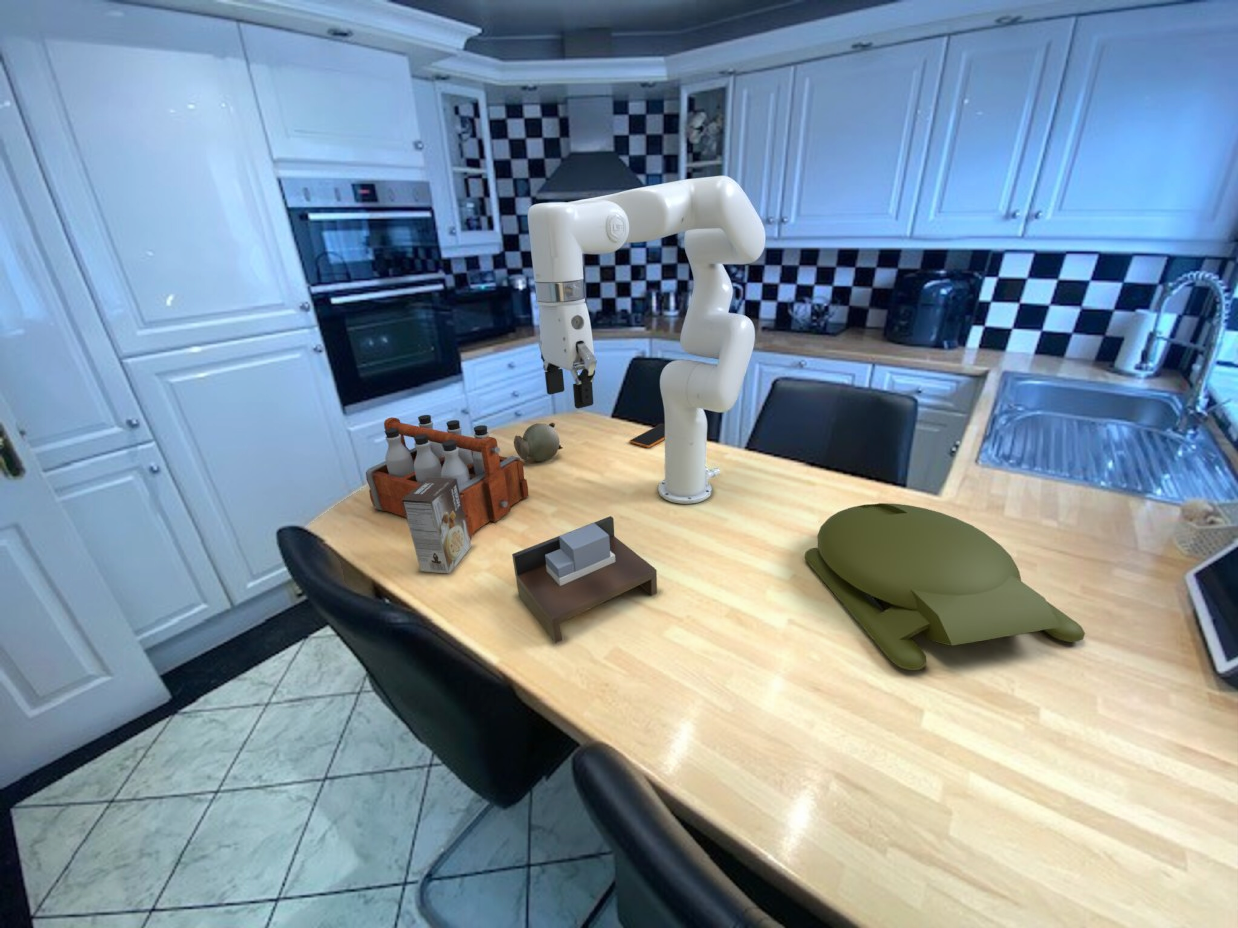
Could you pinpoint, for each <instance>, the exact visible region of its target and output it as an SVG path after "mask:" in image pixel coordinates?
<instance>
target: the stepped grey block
mask: <svg viewBox="0 0 1238 928" xmlns="http://www.w3.org/2000/svg"><path fill="white" fill-rule="evenodd" d="M589 524H590V525H589ZM589 524H586V525H587V526H586V525H584V527H583V526H581V527H582V528H581V527H578V528H579V529H578V528H576V529H577V530H576V529H573V530H574V531H573V530H571V531H568V532H569V533H568V532H565V533H566V534H565V533H562V534H560V535H561V536H560V535H558V536H559V541H560V549H559V550H556V551H554V552H551V553H549V554H546V555H545V559H546V568H547V572H548V573H549V574H550V575H551V576H552V577H553V579H554V580H555V581H556V582H557V583H558V584H559V585H560V586H561V585H564V584H566V583H568V582H571V581H573V580H575V579H577V578H580V577H582V576H584V575H587V574H589V573H591V572H593V571H596V570H598V569H600V568H603V567H605V566H607V565H609V564H612V563H614V562H615V555H614V554H613V553H612V552H611V551H610V542H609V535H608V534H607V533H606V532H604V531H603V530H602V529H601V528H600V527H598V526H597V525H596V524H595V523H594V522H592V524H591V523H589Z"/></svg>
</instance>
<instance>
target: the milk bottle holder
mask: <svg viewBox="0 0 1238 928" xmlns="http://www.w3.org/2000/svg"><path fill="white" fill-rule="evenodd" d="M417 419H418V425H414V424H408V423H403V422H401V420H400V419H399V418H397V417H393V416H391V417H388V418H386V419H385V420H384V422H383V427H384V434H385V441H386V442H387V445H388V446H387V450H386V453H385V459H384V460H385V461H383V462H380V463H378V464H376V465H373V466H372V467H369V468H368V469H367V470H366V471H365V478H366V479H365V480H366V482H367V484H368V487H369V489H368V494H369V498H370V501H371V504H372V505H373V507H374V508H375V509H376V510H379V511H382V512H385V511H386V512H389V513H392V514H395V515H398V516H401V517H404V518H407V517H406V514H405V510H404V506H403V503H402V499H403V498H404V497H405V496H406V495H408V494H409V493H410V492H411V491H412V490H414V489H415V488H416V487H417V486H418V485H419V484H421V483H422V482H423V481H424V480H425V479H426V478H428V477H430V478H456V479H457V483H458V487H459V492H460V497H461V501H462V506H463V511H464V515H465V520H466V525H467V530H468V534H469V538H471V537H472V536H474V535H475V532H477V530H479V529H480V528H482V527H483V526H485V525H486V524H487V523H489V522H490V521H492V522H497V521H499V520H500V519H502V518H503V517H505V516H506V515H507V514H509V513H510V512H511V506H513V505H514V504H516V503H518V502H519V501H520V500H522V499H526V498H528V497H529V485H528V481H527V479H526V478H525V472H524V471H525V469H524V463H523V460H522V459H521V458H520V457H519V456H516V455H515V456H514V455H511V456H509V457H506V456H502V455H500V452H501V448H500V447H499V446H498V440H497V439H496V438H495V437H493V436H490V433H489V431H488V426H487V425H485V424H484V425H483V424H482V425H481V424H480V425H476V426H474V427H473V431H474V435H473V437H472V436H469V435H468V436H467V435H463V434H462V426H461V425H460V420H458V419H453V420H448V421H447V422H446V426H447V428H446V431H443V430H438V429H434V422H433V420H432V415H430V414H423V415H419V416H418V417H417ZM405 437H408V438H413V440H414V447H413V448H411V449H409V448H408V447H407V443H406V439H405Z"/></svg>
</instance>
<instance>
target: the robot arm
mask: <svg viewBox="0 0 1238 928" xmlns="http://www.w3.org/2000/svg"><path fill="white" fill-rule="evenodd" d="M527 225H528V226H527V227H528V236H529V245H530V254H531V262H532V273H533V281H534V283H533V284H534V291H535V301H536V305H537V306H538V320H539V321H538V324H539V327H538V328H539V341H538V347H539V351H540V359H541V360H542V362H543V363H542V369H543V371H544V377H545V386H546V387H545V389H546V393H547V394H548V395H555V394H559V393H563V392H564V391H565V381H564V379H565V378H564V370H566V371H570V374H571V376H572V378H573V381H574V383H572V390H573V391H572V392H573V402H574V408H576V409H577V410H578V409H583V408H587V407H591V406H593V405H594V391H593V389H594V388H593V382H594V379H595V377H594V376H595V375H596V366H597V362H598V360H597V358H596V356H595V349H594V339H593V331H592V325H591V324H592V323H591V319H590V315H589V310H588V306H587V303H586V291H585V279H584V264H583V255H608V254H611V253H614V252H616V251H618V250H619V249H621V247H623V245H624V244H625V243H628V244H629V243H644V242H651V241H656V240H659V239H660V240H661V239H663V238H665V237H669V236H673V235H677V234H680V233H684V232H685V233H684V238H683V246H684V250H685V254H686V257H687V260H688V262H689V265H690V270H691V273H692V277H693V278H692V279H693V287H692V288H693V289H692V293H691V297H690V300H689V304H688V307H687V312H686V314H685V318H684V320H683V324H682V326H681V327H682V328H681V332H680V336H679V341H680V342H679V345H680V347H681V349H682V350H683V351H684V352H685V353H687V354H689V355H692V356H696V357H701V358H709V359H714V360H717V363H716V364H714V363H707V362H703V361H696V360H690V359H675V360H672V361H670V362H668V363H667V364H666V365H665V366H664V367H663V368H662V371H661V373H660V377H659V389H660V395H661V399H662V404H663V405H662V406H663V414H664V424H665V439H664V480H662V481H661V482H660V483H659V484H658V494H659V496H660V497H661V498H663V499H664V500H666V501H667V502H671V503H675V504H682V505H690V504H696V503H701V502H704V501H705V500H707V499H708V498H709V497H710V496H711V495H712V490H713V489H712V485H711V484H710V482H709V481H710V480H712V478H715V477H718V476H720V473H721V471H720V469H719V468H717V467H715V468H713V469H710V470H709V468H708V466H707V439H708V419H707V415H706V412H705V410H706V411H710V412H715V413H726V412H729V411H730V410H731V409H732V408H733V407H734V406H735V405H736V403H737V401H738V399H739V397H740V393H741V390H742V387H743V384H744V380H745V377H746V374H747V371H748V367H749V364H750V361H751V358H752V355H753V351H754V347H755V342H756V329H755V325H754V323H753V320H751V318H749V317H748V316H746V315H744V314H741V313H735V312H729V311H730V307H731V304H732V299H733V294H734V288H733V285H732V281H731V278H730V276H729V274H728V272H727V270H726V269H725V268H726V267H725V266H724V265H748V264H752V263H754V262H756V261H757V260H758V259H759V258H760V257H761V256H762V254H763V253H764V250H765V247H766V237H767V236H766V230H765V226H764V224H763V221H762V219H761V217H760V215H759V214H758V212H757V211H756V209H755V207H754V206H753V204H752V201H751V200H750V198H749V197H748V195H747V194H746V193H745V191H744V190H743V188H742V187H741V186H740V185H739V183H738V182H737V181H736V180H734V179H733V178H732V177H730V176H728V175H715V176H706V177H697V178H695V177H694V178H686V179H680V180H675V181H670V182H665V183H660V184H654V185H653V184H652V185H647V186H642V187H637V188H632V189H628V190H624V191H620V192H616V193H612V194H606V195H601V196H595V197H590V198H585V199H579V200H574V201H573V200H572V201H568V202H565V201H564V202H563V201H561V202H560V201H559V202H541V203H535V204H533V205H531V206H530V207H528V211H527ZM580 370H581V372H580V373H579V371H580Z"/></svg>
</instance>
